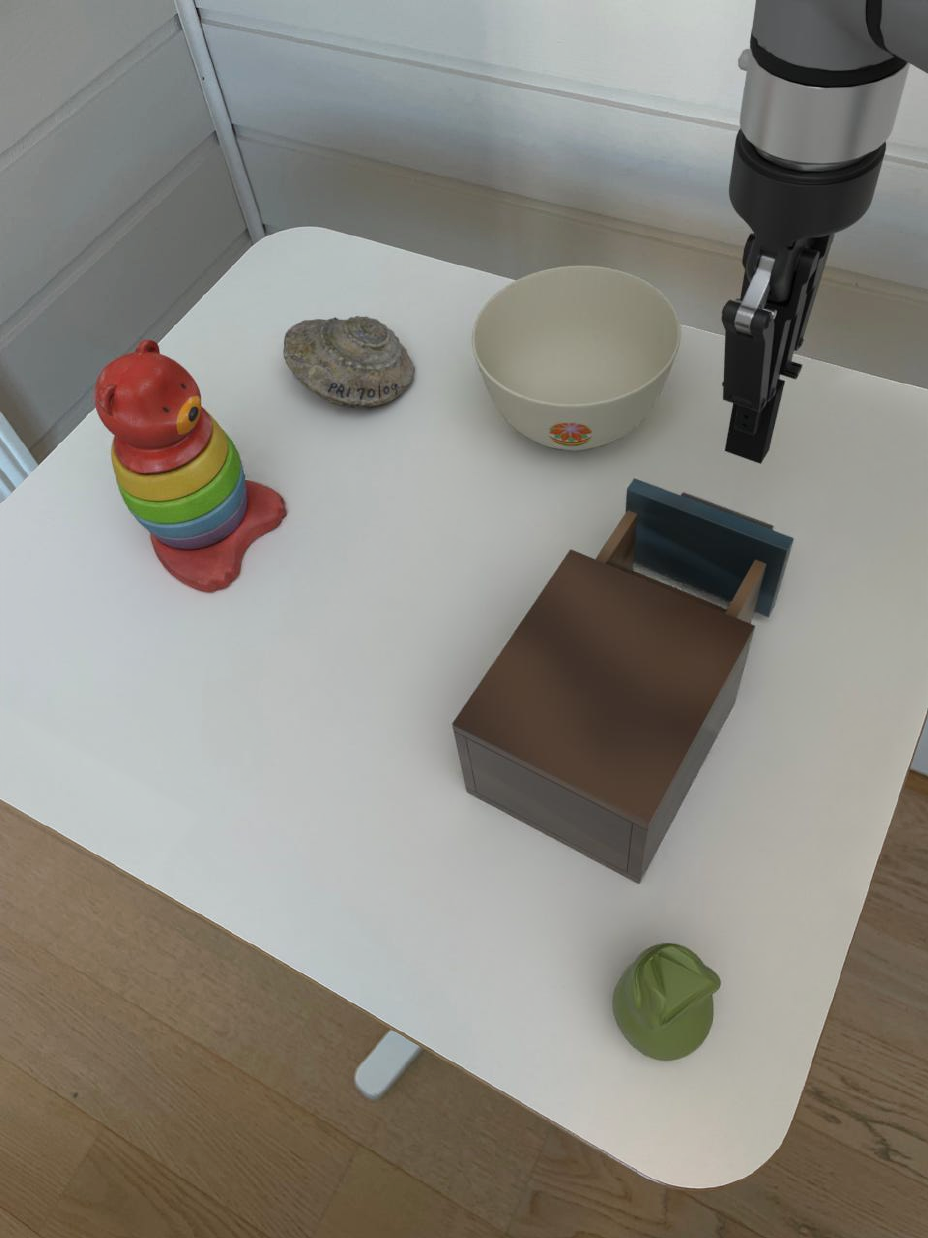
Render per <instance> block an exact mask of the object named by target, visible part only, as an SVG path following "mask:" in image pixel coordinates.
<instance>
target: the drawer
mask: <svg viewBox="0 0 928 1238" xmlns="http://www.w3.org/2000/svg"><path fill="white" fill-rule="evenodd" d="M774 527H775V526H774V525H773V524H770V523H767V522H766V521H762V520H760V519H757V518H754V517H751V516H749V515H746V514H743V513H742V512H738V511H736V510H733V509H731V508H728V507H726V506H722V505H719V504H717V503H715V502H712V501H709V500H706V499H703V498H701V497H698V496H696V495H693V494H691V493H688V492H685V491H684V492H682V493H681V494H678V493H675V492H672V491H670V490H668V489H664V488H663V487H659V486H657V485H654V484H651V483H649V482H646V481H643V480H642V479H641V480H640V479H638V478H635V477H634V478H633V479H632V480H631V482H630V484H629V485H628V487H627V488H626V496H625V512H624V514H623V516H622V518H621V519H620V521H619V522H618V524H617V525H616V527H615V529H614V530H613V532H612V533H611V534H610V536H609V537H608V539H607V540H606V542H605V543H604V545H603V546H602V548H601V549H600V551H599V552H598V554H597V556H596V557H595V559H596V560H598V561H600V562H603V563H605V564H608V565H610V566H612V567H615V568H617V569H620V570H622V571H625V572H627V573H629V574H632V575H634V576H637V577H639V578H641V579H644V580H646V581H649V582H651V583H653V584H656V585H658V586H661V587H663V588H666V589H668V590H670V591H673V592H675V593H678V594H680V595H682V596H685V597H687V598H690V599H692V600H695V601H697V602H699V603H702V604H704V605H707V606H709V607H711V608H714V609H716V610H719V611H721V612H723V613H726V614H728V615H731V616H733V617H736V618H738V619H740V620H743V621H745V622H748V623H750V624H752V622H753V621H752V620H753V617H754V614H755V613H757V614H759V615H761V616H763V617H765V618H769V617H770V615H771V614H772V612H773V611H774V608H775V606H776V603H777V600H778V597H779V592H780V589H781V585H782V581H783V579H784V576H785V571H786V568H787V565H788V561H789V557H790V555H791V550H792V547H793V544H794V540H795V538H794V537H792V536H789V535H787V534H784V533H782V532H779V531H777V530H774ZM634 564H635V565H636V564H637V565H639V566H641V567H644V568H646V569H649V570H651V571H654V572H656V573H659V574H661V575H663V576H666V577H669V578H670V579H673V580H675V581H678V582H680V583H683V584H686V585H688V586H690V587H693V588H695V589H698V590H699V591H702V592H704V593H708V594H710V595H712V596H715V597H717V598H719V599H723V600H724V601H727V602H730V603H729V605H728V606H727V608H725V607H722V606H720V605H718V604H716V603H713V602H711V601H708V600H706V599H703V598H701V597H699V596H696V595H694V594H691V593H689V592H686V591H684V590H682V589H680V588H677V587H674V586H672V585H669V584H667V583H665V582H662V581H660V580H658V579H655V578H652V577H650V576H648V575H645V574H643V573H641V572H638V571H636V570H634V566H635V565H634Z"/></svg>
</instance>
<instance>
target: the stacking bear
mask: <svg viewBox="0 0 928 1238" xmlns="http://www.w3.org/2000/svg"><path fill="white" fill-rule="evenodd" d="M93 401H94V406H95V410H96V413H97V415H98V417H99V419H100V422H101V423H102V424H103V426H104V427H105V428H106V429H107V430H108V431H109V432H110V433H111V434H112V435H113V440H112V441H111V447H110V459H111V465H112V469H113V472H114V475H115V481H116V484H117V489H118V491H119V493H120V496H121V498H122V501H123V502H124V504H125V505H126V507H127V509H128V511H129V512H130V514H131V515H132V516H133V517H134V519H135V520H136V521H137V522H138V523H139V524H140V525H141V526H142V527H144V529H146V531H148V532H149V538H150V542H151V545H152V548H153V551H154V553H155V556H156V557H157V559H158V560H159V562H160V563H161V565H162V566H163V568H165V569H166V571H167V572H168V573H169V574H170V575H171V576H172V577H174V578H175V579H176V580H177V581H179V582H181V583H182V584H184V585H186V586H187V587H189V588H192V589H194V590H198V591H199V592H205V593H213V592H215V591H218V590H224V589H226V588H227V587H228V586H230V585H231V583H232V582H233V581H235V580H236V579H237V578H238V577H239V574H240V572H241V567H242V560H243V557H244V555H245V553H246V550H247V549H248V548H249V547H250V545H252V544H253V542H254V541H255V540H256V539H258V538H259V537H261V536H263V535H265V534H267V533H269V532H270V531H273V530H275V529H276V528H277V527H279V526H280V525H281V523H282V520H284V518H285V517H286V516H287V514H288V513H287V508H286V502H285V500H284V498H283V496H282V495H281V494H280V493H279V492H278V491H276V490H275V489H273V488H271V487H268V486H266V485H265V484H261V483H260V482H256V481H253V480H249V479H246V473H245V471H244V466H243V462H242V459H241V456H240V453H239V451H238V449H237V447H236V445H235V444H234V442H233V441H232V439H231V437H230V436H229V435H228V433H227V432H226V431H225V430H224V429H223V428H222V427H221V426H220V424H219V422H217V420H216V419H215V418H214V417H213V416H212V415H211V414H210V413H209V412H208V411H207V410H206V409H205V407H203V406H202V394H201V391H200V388H199V385H198V383H197V382H196V380H195V379H194V377H193V376H192V375H191V373H189V371H188V370H187V369H186V368H185V367H183V366H182V365H181V363H179V362H177V361H176V360H175V359H173V358H171V357H169V356H167V355H165V354H161V352H160V347H159V344H158V343H157V342H156V341H155V340H153V339H144V340H141V341H140V342H139V343H138V344H137V346H136V348H135V351H134V352H130V353H125V354H122V355H120V356H118V357H116V358H115V359H113V360H112V361H110V362H109V363H107V364H106V365H105V367H104V368H102V369H101V371H100V373H99V374H98V376H97V379H96V382H95V385H94V391H93Z"/></svg>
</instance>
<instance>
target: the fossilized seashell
mask: <svg viewBox="0 0 928 1238" xmlns="http://www.w3.org/2000/svg"><path fill="white" fill-rule="evenodd" d="M283 339H284V340H283V349H282V350H283V359H284V360H285V364H286V366H287V367H288V369H289V371H290V372H291V373H292V375H293V376H294V378H296V379H297V380H298V382H300V383H301V385H303V386H304V387H306V389H308V390H310V391H311V392H312V393H314V394H316V395H317V396H319V397H320V398H323V399H325V400H327V401H330V402H331V403H333V404H336V405H339V406H343V407H352V408H353V407H366V408H367V407H368V408H373V407H378V406H381V405H384V404H388V403H390V402H392V401H394V400H395V399H396V398H398V397H399V396H400V395H402V394H403V393H404V392H405V391H406V390H407V388H409V386H410V385H411V384H412V382H413V381H414V373H415V371H416V367H415V365H414V362H413V360H412V359H411V357H410V356H409V353H408V352H407V351H408V350H407V348H406V347H405V346H404V345H403V344H402V343H401V342H400V337H399V336H397V335H396V334H395V331H394V330H392V329H391V328H389V327H388V326H387V325H386V324H385V323H383V322H381V321H380V320H378V319H376V318H371V317H369V316H361V315H360V316H359V315H356V316H354V317H353V316H351V317H348V319H340V318H337V317H335V316H334V317H333V318H328V319H320V318H316V319H306V320H305V319H304V320H302V321H300V322H297V323H295V324H294V325H292V326H290V327H289V328H288V329H287V331H285V334H284V338H283Z"/></svg>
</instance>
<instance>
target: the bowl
mask: <svg viewBox="0 0 928 1238" xmlns="http://www.w3.org/2000/svg"><path fill="white" fill-rule="evenodd" d="M681 338H682V330H681V323H680V319H679V316H678V313H677V311H676V309H675V307H674V305H673V304H672V303H671V301H670V300H669V298H667V296H666V295H665V294H664V293H663V292H661V291H660V290H659V289H658V287H656V286H655V285H653V284H652V283H649V282H648V281H646V280H644V279H642V278H640V277H638V276H636V275H634V274H631V273H629V272H626V271H622V270H619V269H614V268H610V267H605V266H597V265H567V266H565V265H564V266H558V267H552V268H547V269H543V270H540V271H539V270H538V271H535V272H533V273H530V274H527V275H524V276H522V277H520V278H518V279H516V280H514V281H512V282H511V283H509V284H507V285H506V286H505V287H503V288H501V289H500V290H498V291H497V292H496V293H495V294H494V295H492V297H490V299H488V301H487V302H486V303H485V304H484V306H482V308H481V310H480V311H479V313H478V314H477V316H476V319H475V320H474V324H473V328H472V333H471V346H472V352H473V353H472V354H473V356H474V359H475V362H476V364H477V366H478V369H479V372H480V375H481V376H482V379H483V381H484V384H485V386H486V388H487V391H488V393H489V396H490V397H491V399H492V402H493V403H494V405H495V406H496V409H497V410H498V411H499V413H500V414H501V416H502V417H503V418H504V419H505V421H506V422H507V423H508V424H509V425H510V426H511V427H512V428H513V429H515V430H516V431H517V432H518V433H520V434H521V435H522V436H524V437H525V438H527V439H529V440H531V441H533V442H535V443H538V444H539V445H543V446H546V447H548V448H554V449H558V450H564V451H570V452H571V451H572V452H577V451H585V450H590V449H594V448H598V447H602V446H604V445H607V444H610V443H612V442H614V441H617V440H619V439H621V438H622V437H623V436H626V435H627V434H629V432H631V431H633V430H634V429H635V428H636V427H637V426H639V424H641V422H643V420H644V419H645V418H646V417H647V416H648V414H649V413H650V412H651V410H652V409H653V408H654V406H655V405H656V403H657V401H658V399H659V397H660V395H661V393H662V392H663V391H662V390H663V388H664V386H665V384H666V382H667V379H668V377H669V375H670V372H671V369H672V367H673V365H674V362H675V361H676V360H675V359H676V357H677V354H678V351H679V348H680V344H681V341H682V340H681Z"/></svg>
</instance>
